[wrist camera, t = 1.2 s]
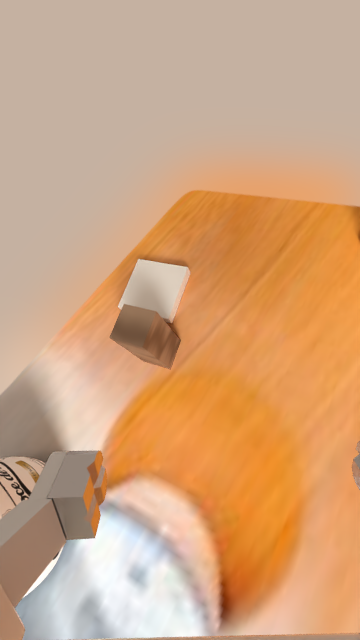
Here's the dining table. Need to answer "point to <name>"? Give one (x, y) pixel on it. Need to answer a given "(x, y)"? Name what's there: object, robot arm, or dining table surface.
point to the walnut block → (146, 336)
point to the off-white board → (156, 287)
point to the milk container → (20, 492)
